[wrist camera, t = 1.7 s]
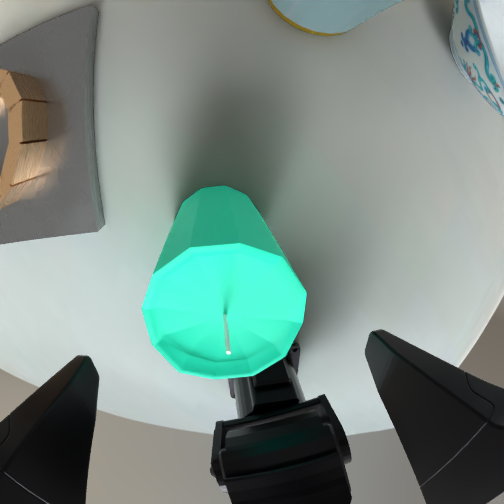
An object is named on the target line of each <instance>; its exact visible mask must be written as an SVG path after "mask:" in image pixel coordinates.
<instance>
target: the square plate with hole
mask: <svg viewBox="0 0 504 504" xmlns="http://www.w3.org/2000/svg"><path fill="white" fill-rule="evenodd" d="M98 14H99V12H98V11H97V10H96V9H95V8H94V7H93V6H92V5H89V6H86V7H83V8H80V9H78V10H75V11H72V12H69V13H67V14H64V15H62V16H59V17H57V18H54V19H52V20H50V21H47V22H45V23H43V24H41V25H38V26H36V27H34V28H32V29H30V30H28V31H26V32H24V33H22V34H20V35H18V36H16V37H15V38H13V39H11V40H9V41H7V42H6V43H4V44H2V45H1V46H0V244H6V243H13V242H20V241H27V240H34V239H41V238H49V237H57V236H65V235H73V234H81V233H90V232H98V231H99V230H100V229H101V228H102V227H103V226H104V225H105V221H104V216H103V209H102V203H101V196H100V189H99V181H98V172H97V162H96V151H95V136H94V114H93V75H94V54H95V41H96V30H97V21H98Z"/></svg>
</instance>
